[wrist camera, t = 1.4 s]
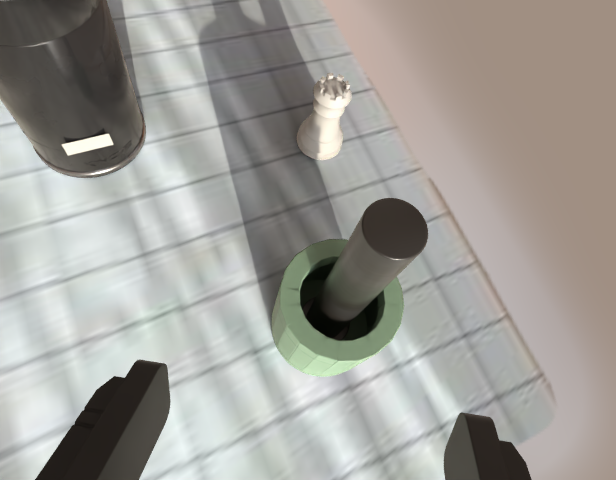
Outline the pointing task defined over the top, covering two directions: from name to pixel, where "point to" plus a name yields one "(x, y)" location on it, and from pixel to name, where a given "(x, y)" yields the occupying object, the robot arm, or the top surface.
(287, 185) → the top surface
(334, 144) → the rook chess piece
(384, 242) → the rod
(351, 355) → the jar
